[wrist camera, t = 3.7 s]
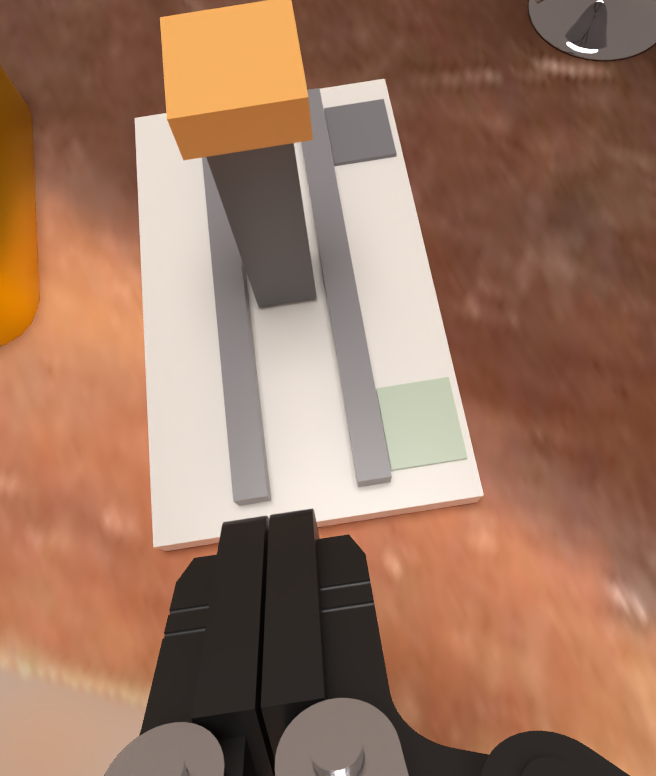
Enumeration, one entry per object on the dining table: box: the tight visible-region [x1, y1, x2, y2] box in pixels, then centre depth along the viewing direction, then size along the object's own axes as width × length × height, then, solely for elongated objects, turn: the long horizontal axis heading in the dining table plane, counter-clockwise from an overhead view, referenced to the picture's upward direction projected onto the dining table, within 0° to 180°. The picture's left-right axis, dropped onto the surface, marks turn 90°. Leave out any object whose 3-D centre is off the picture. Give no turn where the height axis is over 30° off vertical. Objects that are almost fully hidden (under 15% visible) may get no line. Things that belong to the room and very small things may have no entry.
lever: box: [160, 0, 317, 307], centre depth 20 cm, size 3×3×11 cm
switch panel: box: [135, 79, 484, 551], centre depth 25 cm, size 12×20×2 cm, turn 8°
